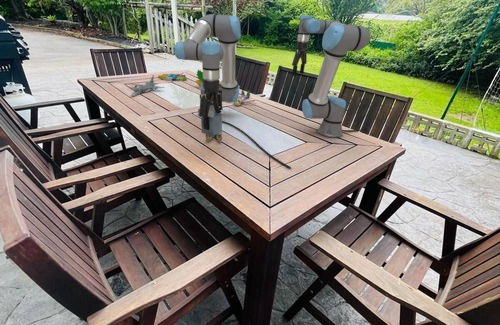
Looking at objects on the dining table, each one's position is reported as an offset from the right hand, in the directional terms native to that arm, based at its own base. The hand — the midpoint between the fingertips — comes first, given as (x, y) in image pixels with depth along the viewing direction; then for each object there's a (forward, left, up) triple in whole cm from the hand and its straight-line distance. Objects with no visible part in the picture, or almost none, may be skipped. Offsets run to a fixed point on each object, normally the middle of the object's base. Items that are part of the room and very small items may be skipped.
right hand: (297, 74), depth 184 cm
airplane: (+102, -81, -30) cm, 134 cm away
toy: (+27, -39, -30) cm, 56 cm away
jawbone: (+68, +31, -30) cm, 80 cm away
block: (+73, +48, -18) cm, 90 cm away
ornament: (+46, -90, -30) cm, 105 cm away
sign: (+74, -134, -30) cm, 156 cm away
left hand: (+74, +48, -15) cm, 89 cm away
